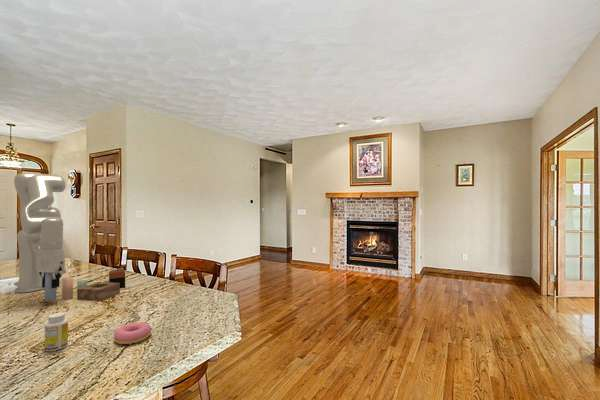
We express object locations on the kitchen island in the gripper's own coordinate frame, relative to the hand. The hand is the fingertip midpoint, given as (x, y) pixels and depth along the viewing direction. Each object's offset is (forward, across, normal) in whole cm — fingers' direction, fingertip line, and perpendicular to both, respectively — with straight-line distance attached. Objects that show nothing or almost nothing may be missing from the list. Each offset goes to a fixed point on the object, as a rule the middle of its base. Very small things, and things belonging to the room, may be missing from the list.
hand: (50, 286), depth 130 cm
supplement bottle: (+6, +40, -34) cm, 53 cm away
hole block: (+7, +13, +12) cm, 19 cm away
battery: (+8, +11, +26) cm, 30 cm away
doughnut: (+6, +59, -25) cm, 64 cm away
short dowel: (+8, +1, +16) cm, 17 cm away
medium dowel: (+8, +1, +8) cm, 11 cm away
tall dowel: (+6, 0, 0) cm, 6 cm away
